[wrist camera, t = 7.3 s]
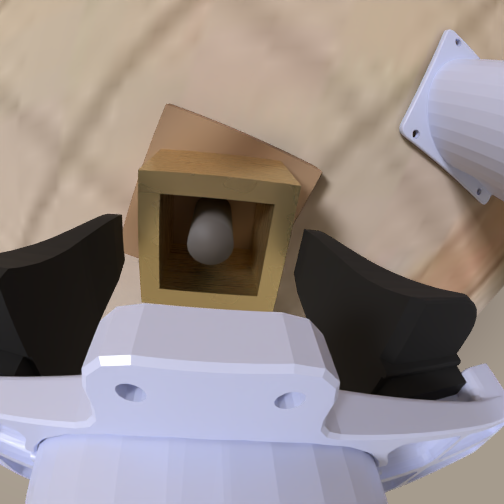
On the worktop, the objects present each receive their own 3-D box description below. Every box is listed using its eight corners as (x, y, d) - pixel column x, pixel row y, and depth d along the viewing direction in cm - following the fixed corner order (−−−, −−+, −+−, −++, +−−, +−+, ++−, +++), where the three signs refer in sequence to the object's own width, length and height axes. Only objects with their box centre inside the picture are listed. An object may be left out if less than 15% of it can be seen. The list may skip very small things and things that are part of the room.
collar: (280, 160, 14) (301, 185, 10) (262, 263, 16) (272, 312, 13) (160, 148, 13) (138, 169, 10) (157, 254, 16) (141, 302, 12)
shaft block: (316, 167, 15) (348, 195, 11) (250, 286, 18) (258, 340, 14) (169, 103, 13) (147, 107, 9) (122, 241, 16) (96, 288, 12)
